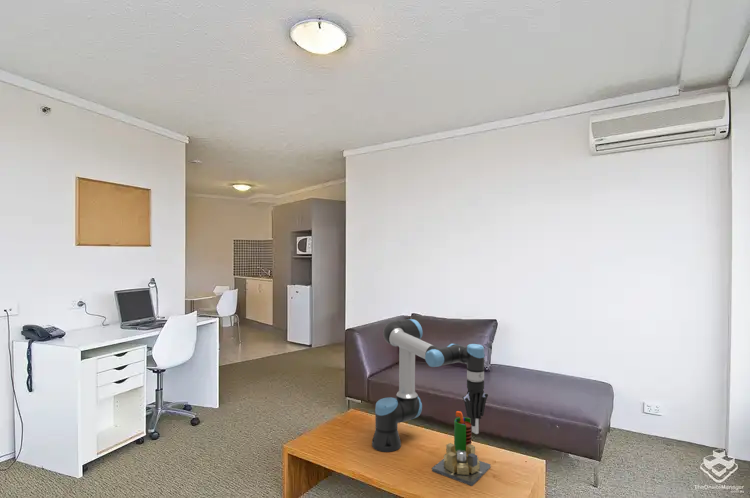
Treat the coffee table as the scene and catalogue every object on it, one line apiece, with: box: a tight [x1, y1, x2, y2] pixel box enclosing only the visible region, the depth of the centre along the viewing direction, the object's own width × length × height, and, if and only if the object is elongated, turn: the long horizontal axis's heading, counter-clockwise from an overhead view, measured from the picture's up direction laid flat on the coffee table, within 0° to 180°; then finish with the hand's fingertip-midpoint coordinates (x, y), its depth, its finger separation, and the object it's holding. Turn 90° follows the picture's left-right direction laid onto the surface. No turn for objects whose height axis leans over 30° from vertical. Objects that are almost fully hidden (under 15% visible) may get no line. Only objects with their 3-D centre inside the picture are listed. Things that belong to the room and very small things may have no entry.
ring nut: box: [443, 442, 480, 475], centre depth 192 cm, size 16×16×7 cm
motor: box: [453, 410, 473, 451], centre depth 209 cm, size 10×9×20 cm
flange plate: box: [431, 450, 492, 487], centre depth 192 cm, size 20×20×8 cm
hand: (475, 432), depth 183 cm, fingers closed
